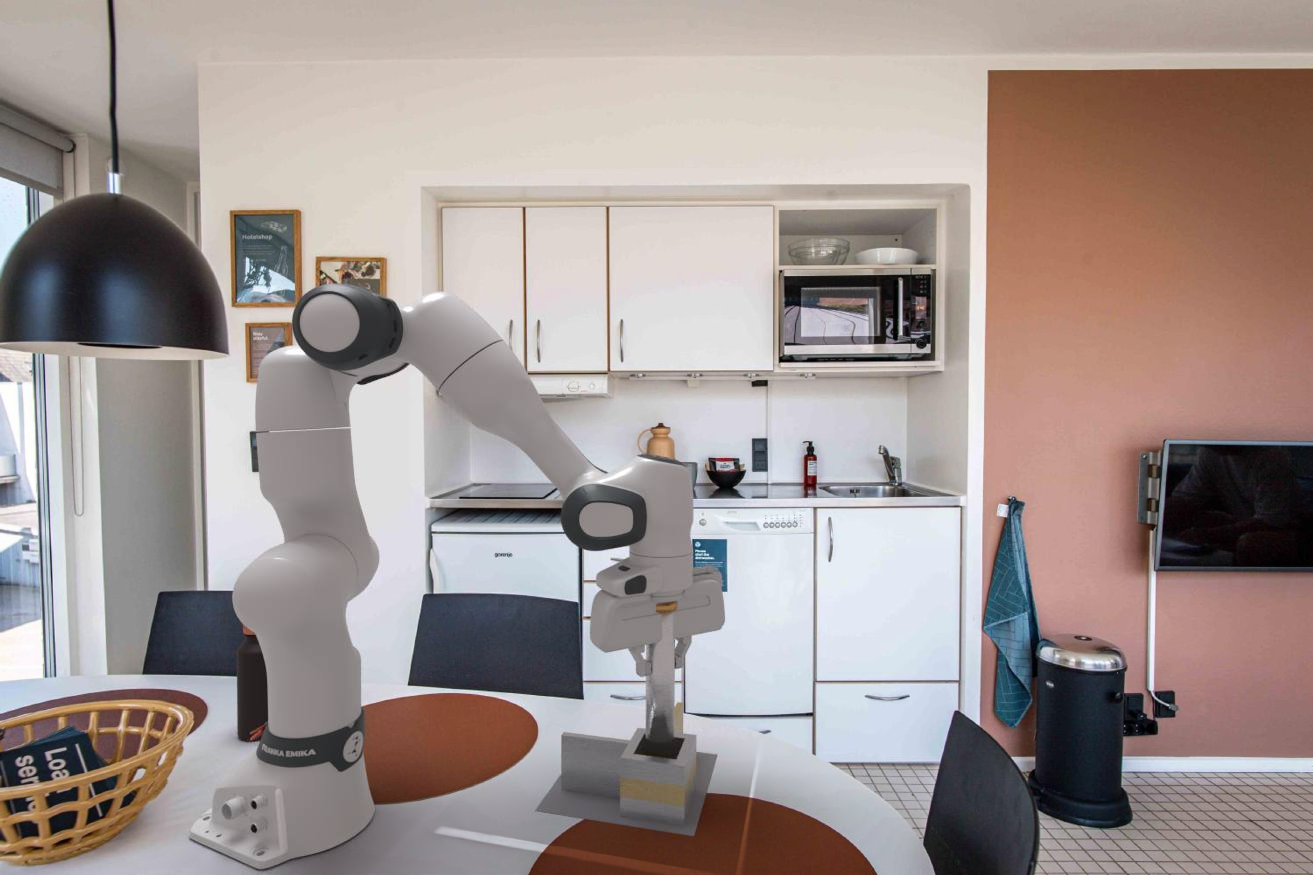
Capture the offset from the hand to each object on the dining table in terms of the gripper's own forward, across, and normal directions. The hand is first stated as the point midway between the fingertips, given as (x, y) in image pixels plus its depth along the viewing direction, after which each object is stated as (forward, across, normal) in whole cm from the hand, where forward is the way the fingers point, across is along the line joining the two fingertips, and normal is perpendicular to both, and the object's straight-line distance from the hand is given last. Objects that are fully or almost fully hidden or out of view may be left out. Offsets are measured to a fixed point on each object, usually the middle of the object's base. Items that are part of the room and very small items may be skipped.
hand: (660, 670), depth 90 cm
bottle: (+20, +48, -54) cm, 75 cm away
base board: (+20, 0, -7) cm, 21 cm away
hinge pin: (+9, 0, 0) cm, 9 cm away
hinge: (+19, 0, -7) cm, 20 cm away
